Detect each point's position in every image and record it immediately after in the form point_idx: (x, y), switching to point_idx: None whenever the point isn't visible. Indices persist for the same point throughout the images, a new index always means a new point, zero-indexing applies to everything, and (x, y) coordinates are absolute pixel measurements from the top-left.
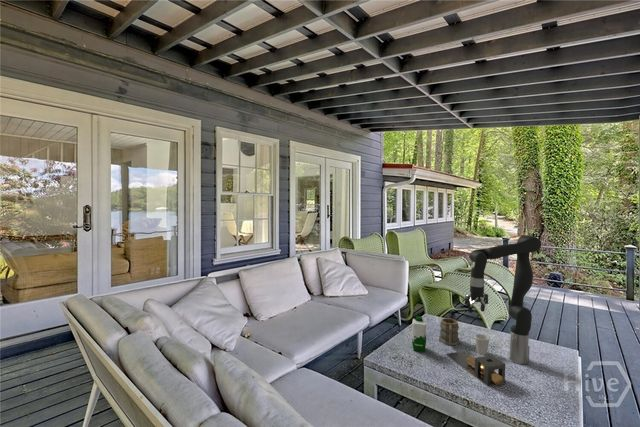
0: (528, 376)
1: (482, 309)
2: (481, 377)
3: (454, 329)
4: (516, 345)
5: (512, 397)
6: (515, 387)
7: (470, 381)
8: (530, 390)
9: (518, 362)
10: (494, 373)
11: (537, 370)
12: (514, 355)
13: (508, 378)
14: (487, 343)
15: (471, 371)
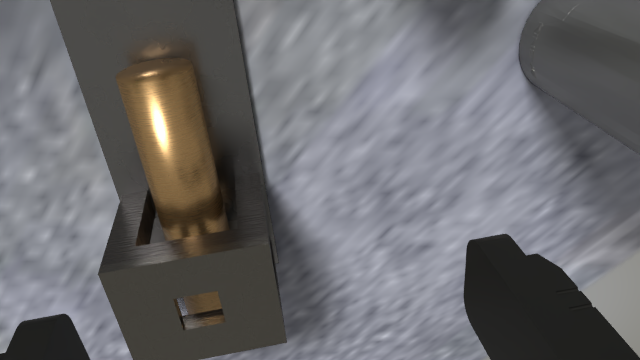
0: (456, 209)
1: (486, 330)
2: (156, 221)
3: None
4: (604, 120)
5: None
6: (302, 290)
7: (66, 239)
8: (357, 310)
9: (534, 83)
10: (203, 307)
11: (565, 158)
12: (547, 76)
13: (327, 221)
14: None
15: (121, 155)
